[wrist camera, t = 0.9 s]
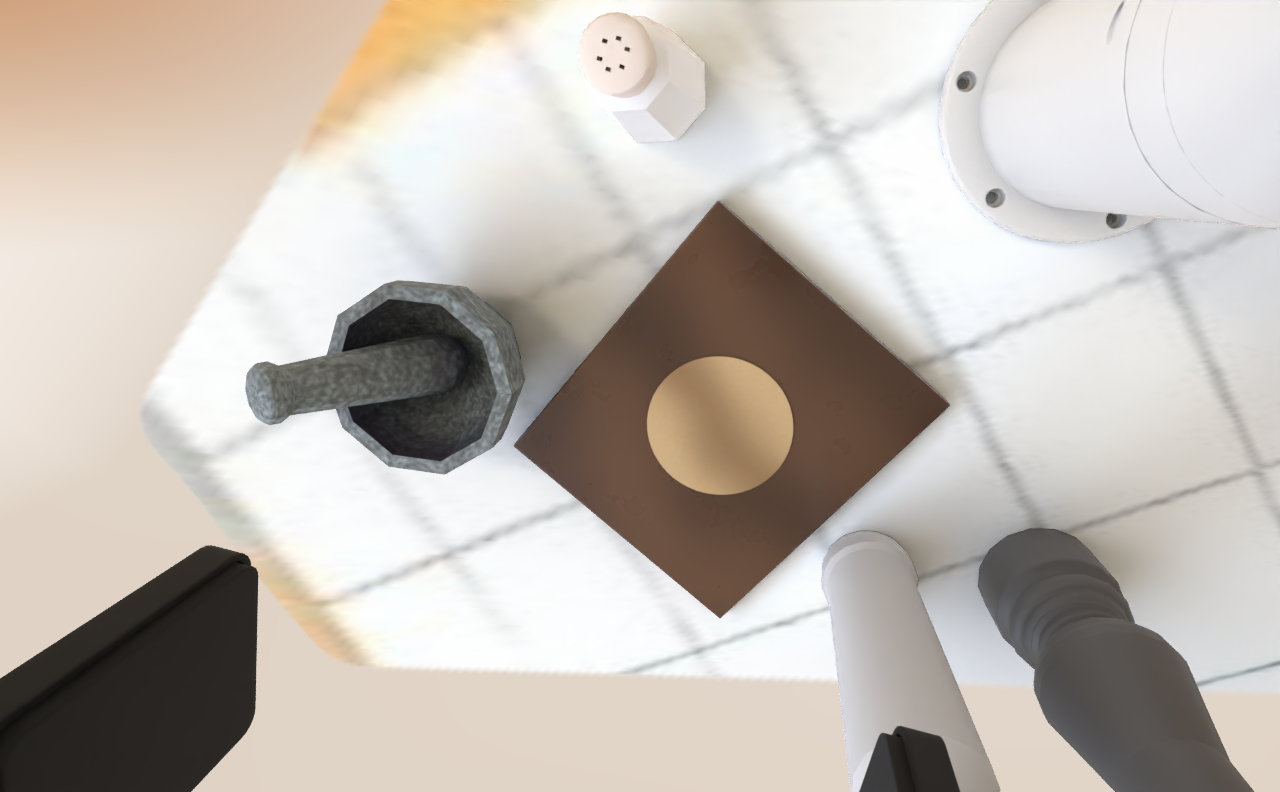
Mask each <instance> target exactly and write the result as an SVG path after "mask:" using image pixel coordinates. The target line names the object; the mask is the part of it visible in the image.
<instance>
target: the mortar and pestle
mask: <svg viewBox="0 0 1280 792" xmlns="http://www.w3.org/2000/svg"><path fill="white" fill-rule="evenodd" d="M520 359H521V356H520V353H519V349H518V346H517V342H516V339H515V335H514V332H513V328H512V325H511V324H510V323H509V322H508V321H506V320H505V319H504V318H503V317H502V316H501V315H500V314H498V313H497V312H496V311H495V310H494V309H493V308H491V307H490V306H489V305H488V304H487V303H486V302H483V301H482V300H481V299H480V298H479V297H477V296H476V295H475V294H474V293H473V292H472V291H471V290H469V289H468V288H467V287H461V286H452V285H443V284H433V283H424V282H414V281H394V282H390V283H387V284H384V285H382V286H381V287H379V288H378V289H376V290H375V291H373V292H372V293H370V294H369V295H367V296H366V297H365V298H363V299H362V300H360V301H359V302H357V303H356V304H354V305H353V306H351V307H350V308H348V309H347V310H345V311H344V312H342V313H341V314H339V315H338V316H337V320H336V323H335V327H334V331H333V335H332V338H331V342H330V346H329V349H328V353H327V355H326V356H322V357H317V358H313V359H308V360H303V361H299V362H294V363H289V364H285V365H280V366H278V365H275V364H272V363H270V362H262V363H257V364H255V365H254V366H253V367H252V368H251V369H250V370H249V372H248V373H247V377H246V394H247V398H248V403H249V406H250V407H251V409H252V411H253V413H254V415H255V416H256V418H257V419H258V420H260V421H262V422H264V423H266V424H268V425H272V424H278V423H281V422H283V421H284V420H285V419H286V418H287V417H289V416H290V415H295V414H302V413H309V412H316V411H323V410H330V409H336V410H337V413H338V416H339V419H340V422H341V425H342V428H344V429H345V430H346V431H347V432H348V433H350V434H351V435H352V436H353V437H354V438H355V439H357V440H358V441H359V442H360V443H361V444H363V445H364V446H365V447H366V448H367V449H369V450H370V451H371V452H372V453H373V454H374V455H376V456H377V457H378V458H379V459H380V460H382V461H383V462H384V463H385V464H386V465H388V466H389V467H396V468H403V469H410V470H417V471H424V472H431V473H438V474H447V473H448V472H450V471H452V470H454V469H455V468H457V467H459V466H461V465H463V464H464V463H466V462H468V461H470V460H471V459H473V458H475V457H477V456H479V455H480V454H482V453H484V452H486V451H487V450H489V449H491V448H492V447H493V446H494V445H496V444H497V443H498V442H499V441H500V440H501V438H502V436H503V434H504V432H505V430H506V428H507V426H508V424H509V421H510V418H511V416H512V413H513V410H514V408H515V405H516V402H517V399H518V397H519V394H520V391H521V389H522V386H523V383H524V381H525V376H524V373H523V369H522V365H521V362H520Z"/></svg>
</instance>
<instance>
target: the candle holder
mask: <svg viewBox="0 0 1280 792" xmlns="http://www.w3.org/2000/svg"><path fill="white" fill-rule="evenodd" d="M978 587H979V590H980V592H981V595H982V597H983V599H984V602H985V604H986V606H987V608H988V610H989V612H990V614H991V616H992V618H993V620H994V622H995V623H996V625H997V627H998V629H999V631H1000V633H1001V635H1002V637H1003V638H1004V639H1005V640H1006V641H1007V642H1008V643H1009V644H1010V645H1011V646H1012V647H1013V648H1015V651H1016V653H1017V654H1018V655H1019V656H1020V657H1022V658H1023V659H1024V660H1025V661H1026V662H1027V663H1028V664H1029V665H1030V666H1031V667H1032V668H1034V669H1035V675H1034V691H1035V694H1036V696H1037V699H1038V701H1039V704H1040V706H1041V709H1042V711H1043V713H1044V715H1045V717H1046V719H1047V721H1048V723H1049V724H1050V725H1051V726H1052V727H1053V728H1054V729H1055V730H1056V731H1057V732H1058V733H1059V734H1060V735H1061V736H1062V737H1063V738H1064V739H1065V740H1066V741H1067V742H1068V743H1069V744H1070V745H1071V746H1072V747H1073V748H1074V749H1075V750H1076V751H1077V752H1078V754H1079V755H1080V756H1081V757H1082V758H1083V759H1084V760H1085V761H1086V762H1087V763H1088V764H1089V765H1090V766H1091V767H1092V768H1093V769H1094V770H1095V771H1096V772H1097V773H1098V774H1099V775H1100V776H1101V777H1102V779H1104V780H1105V782H1106V783H1107V784H1108V785H1109V786H1110V787H1111V788H1112V789H1113V790H1114V791H1115V792H1254V791H1253V789H1252V788H1251V787H1250V786H1249V784H1248V783H1247V782H1246V781H1245V780H1244V778H1243V777H1242V776H1241V774H1240V773H1239V772H1238V771H1237V769H1236V768H1235V767H1234V766H1233V765H1232V763H1231V762H1230V760H1229V758H1228V755H1227V753H1226V751H1225V748H1224V746H1223V744H1222V742H1221V740H1220V737H1219V735H1218V733H1217V730H1216V729H1215V726H1214V724H1213V722H1212V719H1211V717H1210V715H1209V713H1208V710H1207V708H1206V706H1205V703H1204V701H1203V699H1202V696H1201V694H1200V692H1199V689H1198V687H1197V685H1196V682H1195V680H1194V678H1193V675H1192V673H1191V671H1190V669H1189V666H1188V664H1187V662H1186V661H1185V660H1184V659H1183V657H1182V656H1181V655H1180V654H1179V653H1178V652H1177V651H1176V650H1175V649H1174V648H1173V647H1172V646H1171V645H1170V644H1169V643H1167V642H1166V641H1165V640H1164V639H1163V638H1162V637H1161V636H1160V635H1159V634H1157V633H1155V632H1153V631H1152V630H1149V629H1147V628H1144V627H1142V626H1139V625H1137V624H1134V623H1135V622H1134V619H1133V616H1132V613H1131V611H1130V608H1129V605H1128V602H1127V600H1126V599H1125V598H1124V597H1123V595H1122V592H1121V590H1120V587H1119V584H1118V582H1117V581H1116V580H1115V579H1114V578H1113V577H1112V575H1111V574H1110V573H1109V572H1108V571H1107V570H1106V569H1105V568H1104V566H1103V565H1102V564H1101V563H1100V562H1099V561H1098V560H1097V558H1096V557H1095V556H1094V555H1093V554H1092V553H1091V552H1090V551H1089V550H1088V549H1087V548H1086V547H1085V546H1084V545H1083V544H1082V543H1081V542H1080V541H1079V540H1078V539H1077V538H1076V537H1073V536H1071V535H1068V534H1065V533H1063V532H1060V531H1058V530H1055V529H1027V530H1024V531H1021V532H1018V533H1015V534H1012V535H1009V536H1007V537H1005V538H1004V539H1003V540H1002V541H1000V542H999V543H998V544H996V545H995V546H994V547H992V548H991V549H990V550H989V552H988V554H987V555H986V557H985V559H984V561H983V562H982V564H981V566H980V569H979V582H978Z"/></svg>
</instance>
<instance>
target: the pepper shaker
mask: <svg viewBox="0 0 1280 792" xmlns="http://www.w3.org/2000/svg"><path fill="white" fill-rule="evenodd" d="M577 56H578V65H579V68H580V72H581V74H582V76H583V77H584V79H585V85H586V88H587V90H588V91H589V93H590V94H591V95H592V96H593V97H594V99H595V100H596V101H597V102H598V103H599V105H600V106H601V107H602V108H603V109H604V111H605V112H606V113H607V114H608V115H609V116H610V117H611V118H612V119H613V120H614V121H615V122H616V123H617V124H618V125H619V126H620V127H621V128H622V129H623V130H624V131H625V132H626V133H627V134H628V135H629V136H630V137H631V138H633V139H634V140H635V141H636V142H637V143H645V142H664V141H678V139H679V138H680V137H681V136H682V135H683V134H684V132H685V131H686V130H687V129H688V128H689V127H690V126H691V124H692V123H693V122H694V121H695V120H696V119H697V118H698V116H699V115H700V114H701V113H702V112H703V111H704V109H705V108H706V100H705V63H704V62H703V61H702V60H701V59H700V58H699V57H698V56H697V55H696V54H695V53H694V52H693V51H692V50H691V49H690V48H689V47H688V46H687V45H686V44H685V43H684V42H683V41H682V40H681V39H680V38H679V37H678V36H677V35H676V34H675V33H674V32H672V31H670V30H668V29H667V28H665V27H663V26H661V25H659V24H658V23H656V22H654V21H652V20H650V19H649V18H647V17H644V16H632V17H631V16H629V15H627V14H623V13H618V12H617V13H607V14H605V15H602V16H599V17H598V18H596V19H595V20H594V21H592V22H591V23H590V24H589V25H588V26H587V28H586V29H585V30H584V32H583V34H582V36H581V38H580V41H579V45H578V51H577Z"/></svg>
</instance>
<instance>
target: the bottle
mask: <svg viewBox="0 0 1280 792" xmlns="http://www.w3.org/2000/svg"><path fill="white" fill-rule="evenodd" d="M917 586H918V576H917V574H916V571H915V568H914V566H913V563H912V561H911V559H910V556H909V555H908V553H907V552H906V551H905V550H904V549H903V548H902V547H901V546H900V545H899V544H898V543H897V542H896V541H895V540H894V539H892V538H890V537H888V536H885V535H883V534H881V533H878V532H873V531H857V532H854V533H851V534H848V535H844V536H843V537H842V538H840V539H839V540H838V541H836V542H835V543H834V544H833V545H831V547H830V549H829V551H828V553H827V555H826V556H825V558H824V560H823V564H822V589H823V592H824V594H825V597H826V599H827V601H828V604H829V606H830V615H831V623H832V632H833V640H834V649H835V658H836V666H837V675H838V683H839V692H840V700H841V709H842V718H843V727H844V735H845V744H846V752H847V761H848V770H849V777H850V778H849V779H850V787H851V792H859V791H860V788H861V785H862V782H863V779H864V776H865V774H866V771H867V768H868V765H869V762H870V759H871V756H872V753H873V751H874V748H875V745H876V742H877V739H878V737H879V735H880V734H881V733H887V734H890V735H892V734H893V731H894V730H895V728H896V727H897V726H904V727H907V728H911V729H915V730H919V731H923V732H926V733H930V734H934V735H938V736H940V737H941V738H943V740H944V743H945V745H946V748H947V751H948V754H949V757H950V761H951V764H952V767H953V770H954V773H955V776H956V780H957V783H958V786H959V789H960V792H1000V787H999V784H998V782H997V779H996V777H995V774H994V771H993V769H992V766H991V764H990V761H989V759H988V757H987V754H986V752H985V749H984V747H983V745H982V742H981V740H980V737H979V735H978V733H977V731H976V728H975V725H974V723H973V721H972V718H971V716H970V713H969V711H968V709H967V706H966V704H965V702H964V699H963V697H962V694H961V692H960V690H959V687H958V685H957V682H956V680H955V678H954V675H953V673H952V670H951V668H950V666H949V663H948V661H947V658H946V656H945V654H944V651H943V649H942V646H941V644H940V642H939V639H938V637H937V635H936V632H935V630H934V627H933V625H932V623H931V620H930V618H929V615H928V613H927V611H926V608H925V606H924V603H923V601H922V599H921V596H920V594H919V591H918V589H917Z"/></svg>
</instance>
